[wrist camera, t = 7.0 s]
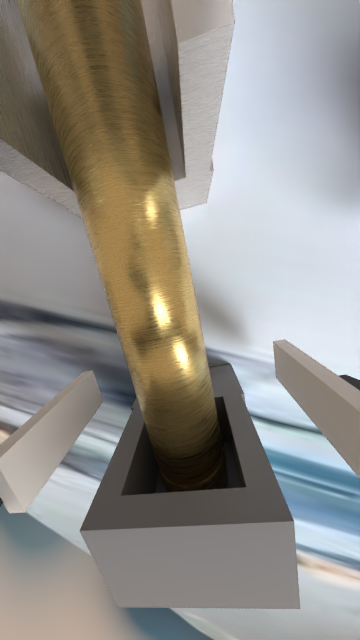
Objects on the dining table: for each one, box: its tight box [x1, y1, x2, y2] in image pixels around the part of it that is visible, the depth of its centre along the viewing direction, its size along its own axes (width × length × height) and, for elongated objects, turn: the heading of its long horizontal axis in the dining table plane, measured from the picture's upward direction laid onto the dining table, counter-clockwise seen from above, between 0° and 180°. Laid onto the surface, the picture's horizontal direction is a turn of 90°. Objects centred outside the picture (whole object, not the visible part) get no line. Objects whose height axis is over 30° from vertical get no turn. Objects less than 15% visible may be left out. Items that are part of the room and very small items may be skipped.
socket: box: [80, 364, 300, 609], centre depth 11 cm, size 5×8×10 cm, turn 102°
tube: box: [16, 0, 228, 493], centre depth 8 cm, size 22×4×4 cm, turn 12°
